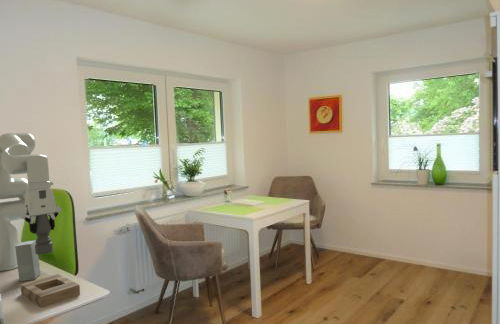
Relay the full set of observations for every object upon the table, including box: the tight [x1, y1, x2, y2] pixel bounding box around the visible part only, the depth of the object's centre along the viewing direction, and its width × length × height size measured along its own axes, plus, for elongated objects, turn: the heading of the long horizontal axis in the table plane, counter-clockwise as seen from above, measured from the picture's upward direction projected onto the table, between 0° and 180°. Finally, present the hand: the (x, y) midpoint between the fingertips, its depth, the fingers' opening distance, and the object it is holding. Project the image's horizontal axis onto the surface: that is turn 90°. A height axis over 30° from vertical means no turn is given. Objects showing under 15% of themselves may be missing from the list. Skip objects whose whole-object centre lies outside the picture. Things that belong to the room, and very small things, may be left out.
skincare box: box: [15, 239, 41, 282], centre depth 169 cm, size 8×7×16 cm
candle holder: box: [34, 190, 54, 255], centre depth 152 cm, size 6×6×25 cm
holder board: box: [20, 273, 81, 308], centre depth 150 cm, size 20×14×4 cm
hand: (42, 230), depth 153 cm, fingers closed on candle holder, 6 cm apart
